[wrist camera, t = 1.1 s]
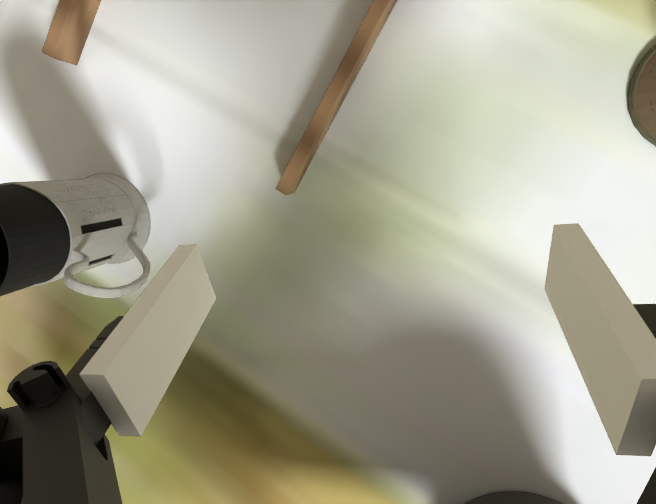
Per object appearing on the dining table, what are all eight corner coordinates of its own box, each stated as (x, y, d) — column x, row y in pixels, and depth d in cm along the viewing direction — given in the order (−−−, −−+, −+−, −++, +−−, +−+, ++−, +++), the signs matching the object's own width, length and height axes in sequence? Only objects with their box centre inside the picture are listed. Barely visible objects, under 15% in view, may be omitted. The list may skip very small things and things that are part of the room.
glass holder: (78, 159, 42) (-93, 156, 27) (213, 214, 41) (111, 242, 26) (59, 243, 44) (-109, 282, 29) (187, 298, 43) (79, 366, 28)
